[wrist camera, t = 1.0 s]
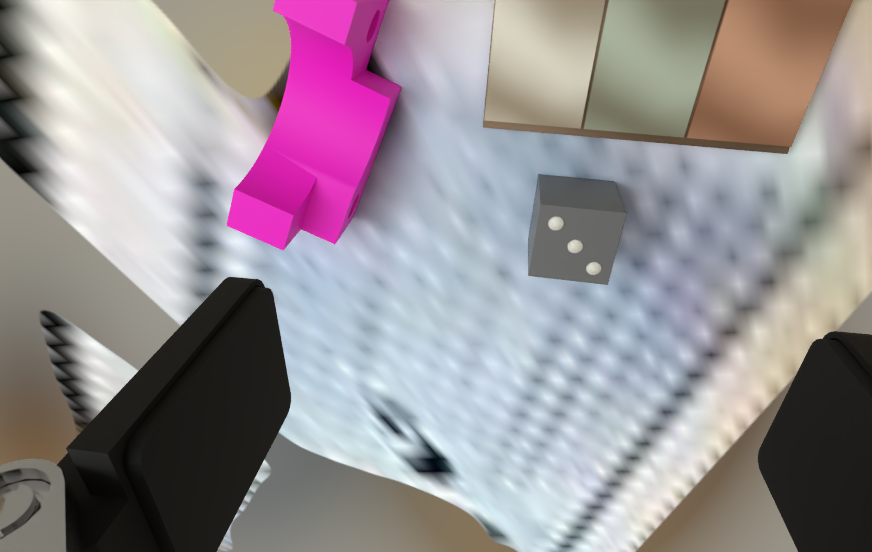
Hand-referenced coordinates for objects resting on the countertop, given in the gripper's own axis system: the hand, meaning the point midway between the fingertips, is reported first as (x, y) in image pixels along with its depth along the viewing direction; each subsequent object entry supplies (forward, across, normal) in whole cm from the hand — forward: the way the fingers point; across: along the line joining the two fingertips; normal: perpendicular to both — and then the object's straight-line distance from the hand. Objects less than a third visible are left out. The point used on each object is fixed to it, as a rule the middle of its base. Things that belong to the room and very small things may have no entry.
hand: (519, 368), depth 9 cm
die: (+27, -4, +8) cm, 28 cm away
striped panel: (+27, -7, -6) cm, 28 cm away
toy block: (+27, +12, +2) cm, 30 cm away
